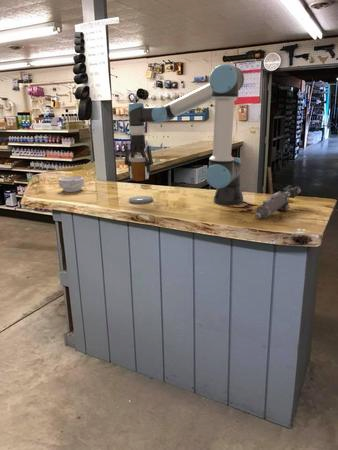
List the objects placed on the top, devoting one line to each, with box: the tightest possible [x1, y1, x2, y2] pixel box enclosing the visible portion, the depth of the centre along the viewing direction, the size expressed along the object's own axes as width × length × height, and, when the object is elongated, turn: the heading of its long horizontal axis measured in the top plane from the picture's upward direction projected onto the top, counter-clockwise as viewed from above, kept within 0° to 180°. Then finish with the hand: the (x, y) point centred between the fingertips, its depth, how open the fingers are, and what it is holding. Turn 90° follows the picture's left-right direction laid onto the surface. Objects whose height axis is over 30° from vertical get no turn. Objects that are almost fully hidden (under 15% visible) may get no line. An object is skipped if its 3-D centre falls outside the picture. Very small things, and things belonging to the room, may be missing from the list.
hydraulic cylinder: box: [254, 185, 302, 220], centre depth 170 cm, size 7×37×10 cm, turn 137°
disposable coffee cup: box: [129, 155, 148, 182], centre depth 194 cm, size 10×10×12 cm
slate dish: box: [128, 195, 154, 205], centre depth 199 cm, size 13×13×1 cm
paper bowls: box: [58, 176, 85, 193], centre depth 231 cm, size 15×15×8 cm
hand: (139, 178), depth 196 cm, fingers closed on disposable coffee cup, 8 cm apart
